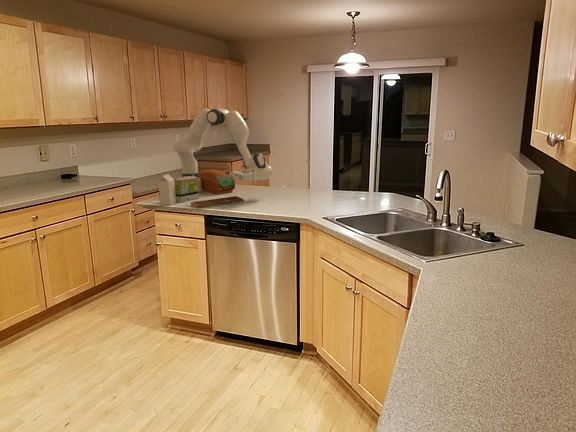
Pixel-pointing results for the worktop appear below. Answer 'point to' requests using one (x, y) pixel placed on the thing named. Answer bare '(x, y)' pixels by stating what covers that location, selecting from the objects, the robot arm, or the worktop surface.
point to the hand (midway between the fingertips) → (230, 176)
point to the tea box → (186, 188)
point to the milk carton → (167, 190)
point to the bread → (211, 181)
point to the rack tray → (217, 202)
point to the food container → (226, 182)
